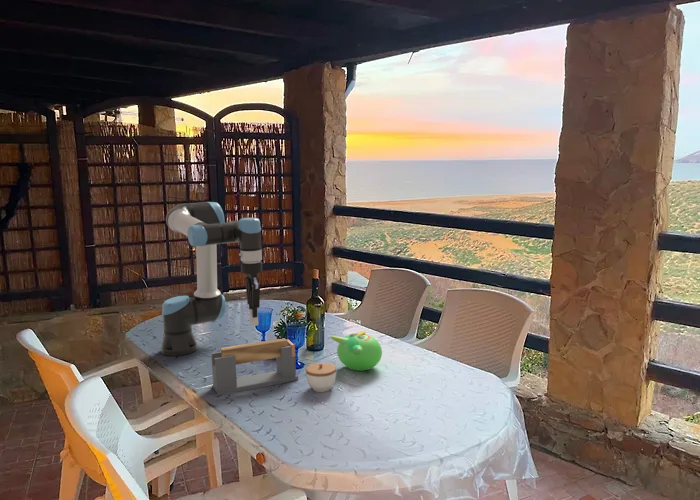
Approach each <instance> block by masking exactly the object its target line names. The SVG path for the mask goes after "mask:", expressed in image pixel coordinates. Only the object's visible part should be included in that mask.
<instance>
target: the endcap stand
mask: <svg viewBox="0 0 700 500" xmlns="http://www.w3.org/2000/svg"><path fill="white" fill-rule="evenodd" d="M287 343H288V346H286V347H280V350H281V357H278V358H275V359H276V362H275V363H276V370H275V371H269V372H262V373H257V374H252V375H245V376H240V377H237V365H236V361H235V355H231V356H225V357H221V351H214V352H211V353H210V355H211V368H212V387H213V389H214V391H215V392H216V394H217V396H223V395H226V394H227V395H228V394H232V393H237V392H238V393H239V392H243V391H248V390H253V389H260V388H263V387H270V386H275V385H280V384H284V383H291V382H295V381H298V380H299V376H298V375H297V368H296V367H297V365H296V363H297V362H296V346H295V345H296V344H295V343H294V344H293V343H292V342H291V341H290V340H289V339H287Z"/></svg>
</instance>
